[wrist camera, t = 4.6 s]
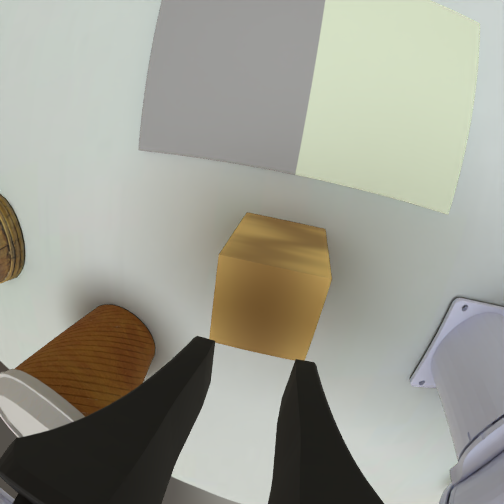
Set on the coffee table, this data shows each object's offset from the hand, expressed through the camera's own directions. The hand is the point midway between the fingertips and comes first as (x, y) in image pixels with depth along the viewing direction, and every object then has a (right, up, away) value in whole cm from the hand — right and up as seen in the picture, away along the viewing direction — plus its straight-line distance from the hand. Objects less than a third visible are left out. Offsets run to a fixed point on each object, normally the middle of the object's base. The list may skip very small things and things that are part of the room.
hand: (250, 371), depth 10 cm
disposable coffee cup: (-11, -3, +14) cm, 18 cm away
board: (+3, +14, +4) cm, 14 cm away
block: (+2, +4, +9) cm, 10 cm away
